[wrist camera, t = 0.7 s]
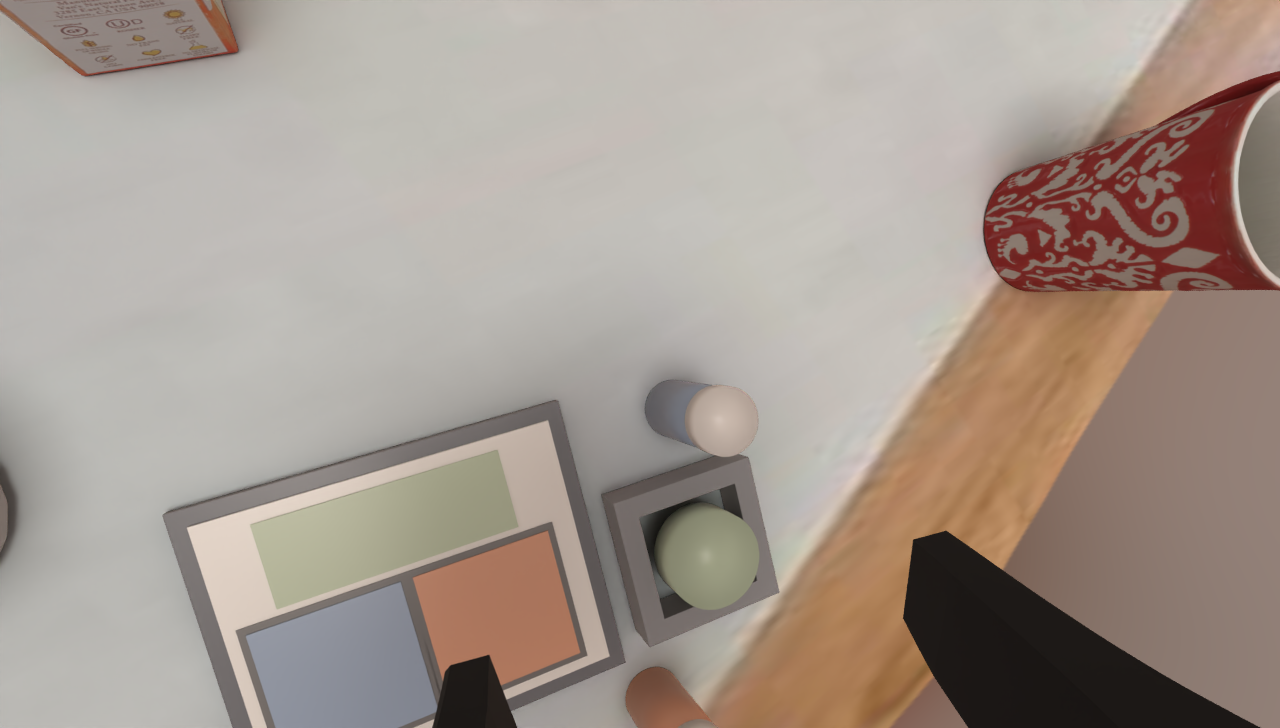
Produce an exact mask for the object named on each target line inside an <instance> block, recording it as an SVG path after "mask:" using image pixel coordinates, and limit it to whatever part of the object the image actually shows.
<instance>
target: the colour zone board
mask: <svg viewBox="0 0 1280 728" xmlns="http://www.w3.org/2000/svg"><path fill="white" fill-rule="evenodd" d="M162 516H163V519H164V522H165V525H166V528H167V531H168V534H169V537H170V540H171V543H172V546H173V549H174V552H175V555H176V558H177V561H178V564H179V567H180V570H181V573H182V576H183V579H184V582H185V585H186V588H187V591H188V594H189V597H190V600H191V603H192V606H193V609H194V612H195V615H196V618H197V621H198V624H199V627H200V630H201V633H202V636H203V639H204V642H205V645H206V648H207V651H208V654H209V657H210V660H211V663H212V666H213V669H214V672H215V675H216V678H217V681H218V684H219V687H220V690H221V694H222V697H223V700H224V703H225V706H226V709H227V712H228V715H229V718H230V721H231V724H232V727H233V728H432V726H433V723H434V719H435V715H436V711H437V706H438V702H439V698H440V694H441V689H442V684H443V679H444V674H445V671H446V670H447V669H448V667H449V666H450V665H453V664H456V663H460V662H464V661H468V660H471V659H475V658H479V657H482V656H486V655H490V658H491V660H492V663H493V666H494V668H495V671H496V673H497V676H498V679H499V681H500V684H501V687H502V689H503V692H504V694H505V697H506V700H507V702H508V705H509V708H510V710H511V711H512V710H515V709H517V708H519V707H522V706H524V705H526V704H529V703H531V702H533V701H536V700H538V699H541V698H543V697H545V696H548V695H550V694H552V693H555V692H557V691H559V690H562V689H564V688H566V687H569V686H571V685H573V684H576V683H578V682H581V681H583V680H585V679H588V678H590V677H592V676H595V675H597V674H599V673H602V672H604V671H606V670H609V669H611V668H613V667H616V666H618V665H620V664H623V663H625V658H624V654H623V650H622V646H621V642H620V638H619V634H618V631H617V627H616V623H615V619H614V615H613V611H612V607H611V604H610V600H609V596H608V592H607V588H606V584H605V580H604V577H603V573H602V569H601V565H600V561H599V557H598V553H597V549H596V546H595V542H594V538H593V534H592V530H591V526H590V522H589V519H588V515H587V511H586V507H585V503H584V499H583V495H582V492H581V488H580V484H579V480H578V476H577V472H576V468H575V464H574V461H573V457H572V453H571V449H570V445H569V441H568V437H567V434H566V430H565V426H564V422H563V418H562V414H561V410H560V407H559V403H558V401H557V400H553V401H550V402H547V403H543V404H540V405H536V406H533V407H529V408H526V409H522V410H519V411H515V412H512V413H508V414H505V415H501V416H498V417H494V418H491V419H488V420H484V421H481V422H477V423H474V424H470V425H467V426H463V427H460V428H456V429H453V430H449V431H446V432H442V433H439V434H435V435H432V436H429V437H425V438H422V439H418V440H415V441H411V442H408V443H404V444H401V445H397V446H394V447H390V448H387V449H383V450H380V451H376V452H373V453H370V454H366V455H363V456H359V457H356V458H352V459H349V460H345V461H342V462H338V463H335V464H331V465H328V466H324V467H321V468H317V469H314V470H311V471H307V472H304V473H300V474H297V475H293V476H290V477H286V478H283V479H279V480H276V481H272V482H269V483H265V484H262V485H259V486H255V487H252V488H248V489H245V490H241V491H238V492H234V493H231V494H227V495H224V496H220V497H217V498H213V499H210V500H206V501H203V502H200V503H196V504H193V505H189V506H186V507H182V508H179V509H175V510H172V511H168V512H166V513H165V514H164V515H162Z"/></svg>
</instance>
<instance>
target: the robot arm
mask: <svg viewBox="0 0 1280 728" xmlns="http://www.w3.org/2000/svg"><path fill="white" fill-rule="evenodd" d="M903 619H904V621H905V623H906V625H907V627H908V629H909V631H910V632H911V634H912V636H913V638H914V640H915V642H916V644H917V646H918V648H919V650H920V652H921V654H922V656H923V657H924V659H925V661H926V663H927V665H928V666H929V668H930V670H931V672H932V674H933V676H934V677H935V679H936V680H937V682H938V683H939V685H940V686H941V688H942V689H943V691H944V692H945V694H946V695H947V697H948V698H949V700H950V701H951V703H952V704H953V705H954V707H955V709H956V710H957V711H958V713H959V714H960V716H961V718H962V719H963V720H964V722H965V723H966V725H967V726H968V728H1260V727H1258V726H1256V725H1254V724H1252V723H1250V722H1248V721H1246V720H1245V719H1242V718H1241V717H1239V716H1237V715H1235V714H1233V713H1232V712H1230V711H1228V710H1226V709H1224V708H1222V707H1220V706H1219V705H1216V704H1215V703H1213V702H1211V701H1209V700H1207V699H1206V698H1204V697H1202V696H1200V695H1198V694H1196V693H1194V692H1193V691H1191V690H1189V689H1187V688H1185V687H1184V686H1182V685H1180V684H1178V683H1177V682H1175V681H1173V680H1171V679H1170V678H1168V677H1166V676H1164V675H1163V674H1161V673H1159V672H1158V671H1156V670H1154V669H1153V668H1151V667H1149V666H1148V665H1146V664H1144V663H1143V662H1141V661H1140V660H1138V659H1136V658H1135V657H1133V656H1131V655H1130V654H1128V653H1126V652H1125V651H1123V650H1121V649H1120V648H1118V647H1116V646H1115V645H1113V644H1112V643H1110V642H1109V641H1107V640H1106V639H1104V638H1102V637H1101V636H1099V635H1098V634H1096V633H1094V632H1093V631H1091V630H1090V629H1088V628H1087V627H1085V626H1084V625H1082V624H1081V623H1079V622H1078V621H1076V620H1075V619H1073V618H1072V617H1070V616H1069V615H1067V614H1066V613H1064V612H1063V611H1061V610H1060V609H1058V608H1057V607H1055V606H1054V605H1052V604H1051V603H1049V602H1048V601H1046V600H1045V599H1043V598H1042V597H1040V596H1039V595H1038V594H1036V593H1035V592H1033V591H1032V590H1030V589H1029V588H1027V587H1026V586H1024V585H1023V584H1022V583H1020V582H1019V581H1017V580H1016V579H1014V578H1013V577H1012V576H1010V575H1009V574H1007V573H1006V572H1004V571H1003V570H1002V569H1000V568H999V567H997V566H996V565H994V564H993V563H992V562H990V561H989V560H987V559H986V558H985V557H983V556H982V555H980V554H979V553H977V552H976V551H975V550H973V549H972V548H970V547H969V546H968V545H966V544H965V543H963V542H962V541H960V540H959V539H957V538H956V537H955V536H953V535H952V534H950V533H949V532H947V531H944V532H940V533H936V534H932V535H929V536H925V537H921V538H918V539H914V540H913V546H912V554H911V561H910V569H909V577H908V584H907V592H906V600H905V607H904V615H903ZM432 728H517V726H516V723H515V721H514V718H513V715H512V713H511V710H510V708H509V705H508V702H507V700H506V697H505V694H504V692H503V689H502V687H501V684H500V681H499V679H498V676H497V673H496V671H495V668H494V666H493V663H492V660H491V658H490V655H486V656H482V657H479V658H475V659H471V660H468V661H464V662H460V663H456V664H453V665H450V666H449V667H448V669H447V670H446V671H445V674H444V679H443V684H442V689H441V694H440V698H439V702H438V706H437V711H436V715H435V719H434V723H433V726H432Z"/></svg>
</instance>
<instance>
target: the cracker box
mask: <svg viewBox="0 0 1280 728" xmlns="http://www.w3.org/2000/svg"><path fill="white" fill-rule="evenodd" d="M0 11H1V12H2V13H3V14H5V15H6V16H7V17H9V18H10V19H11V20H12V21H14V22H15V23H16V24H17V25H19V26H20V27H21V28H22V29H23V30H25V31H26V32H27V33H28V34H30V35H31V36H32V37H33V38H35V39H36V40H37V41H39V42H40V43H42V44H43V45H44V46H46V47H47V48H48V49H49V50H50V51H51V52H53V53H54V54H55V55H56V56H58V57H59V58H60V59H62V60H63V61H64V62H65V63H66V64H67V65H68V66H70V67H72V68H73V69H74V70H75V71H77V72H78V73H79V74H81V75H84V76H88V75H94V74H100V73H106V72H113V71H120V70H127V69H133V68H139V67H146V66H153V65H159V64H165V63H171V62H177V61H183V60H189V59H195V58H202V57H209V56H214V55H219V54H227V53H235V52H237V51H238V46H237V43H236V40H235V38H234V35H233V32H232V29H231V26H230V24H229V21H228V18H227V15H226V12H225V9H224V6H223V4H222V1H221V0H0Z"/></svg>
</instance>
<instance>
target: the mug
mask: <svg viewBox="0 0 1280 728" xmlns="http://www.w3.org/2000/svg"><path fill="white" fill-rule="evenodd" d="M984 234H985V242H986V248H987V251H988V254H989V257H990V259H991V262H992V264H993V266H994V267H995V269H996V271H997V272H998V274H999V275H1000V276H1001V277H1002V278H1003V279H1004V280H1005V281H1006V282H1007V283H1009V284H1010V285H1012V286H1013V287H1015V288H1017V289H1020V290H1024V291H1032V292H1054V291H1163V290H1164V291H1167V290H1181V291H1191V290H1192V291H1193V290H1194V291H1195V290H1196V291H1201V290H1202V291H1203V290H1279V291H1280V71H1278V72H1274V73H1270V74H1266V75H1263V76H1259V77H1256V78H1253V79H1250V80H1248V81H1245V82H1242V83H1240V84H1237V85H1234V86H1232V87H1230V88H1227V89H1225V90H1223V91H1220V92H1218V93H1216V94H1214V95H1212V96H1210V97H1207V98H1205V99H1203V100H1201V101H1199V102H1197V103H1195V104H1193V105H1192V106H1190V107H1188V108H1186V109H1184V110H1182V111H1180V112H1179V113H1177V114H1175V115H1173V116H1171V117H1170V118H1168V119H1166V120H1164V121H1162V122H1161V123H1159V124H1157V125H1156V126H1153V127H1150V128H1147V129H1144V130H1141V131H1138V132H1135V133H1132V134H1129V135H1126V136H1123V137H1120V138H1117V139H1114V140H1111V141H1108V142H1105V143H1101V144H1098V145H1095V146H1092V147H1089V148H1086V149H1083V150H1080V151H1077V152H1074V153H1071V154H1068V155H1065V156H1062V157H1059V158H1056V159H1053V160H1050V161H1047V162H1044V163H1040V164H1037V165H1034V166H1031V167H1028V168H1025V169H1022V170H1020V171H1017V172H1015V173H1013V174H1011V175H1010V176H1008V177H1007V178H1006V179H1005V180H1004V181H1003V182H1002V183H1001V184H1000V185H999V186H998V187H997V189H996V190H995V191H994V193H993V195H992V197H991V199H990V202H989V204H988V208H987V211H986V216H985V224H984Z"/></svg>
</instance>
